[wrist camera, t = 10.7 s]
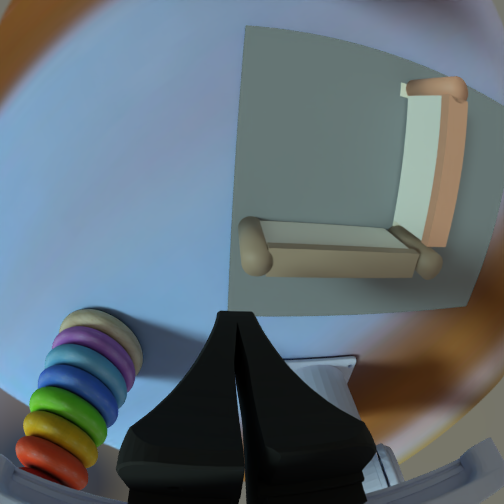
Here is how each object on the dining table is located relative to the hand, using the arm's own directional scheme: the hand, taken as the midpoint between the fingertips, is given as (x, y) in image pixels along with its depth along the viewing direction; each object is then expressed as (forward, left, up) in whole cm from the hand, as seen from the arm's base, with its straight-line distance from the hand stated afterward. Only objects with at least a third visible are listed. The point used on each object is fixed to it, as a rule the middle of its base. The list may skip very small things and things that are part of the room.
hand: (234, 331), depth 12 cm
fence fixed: (+1, -7, -9) cm, 12 cm away
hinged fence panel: (+7, -12, -9) cm, 16 cm away
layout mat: (+4, -12, -9) cm, 16 cm away
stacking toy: (-10, +11, -10) cm, 18 cm away
